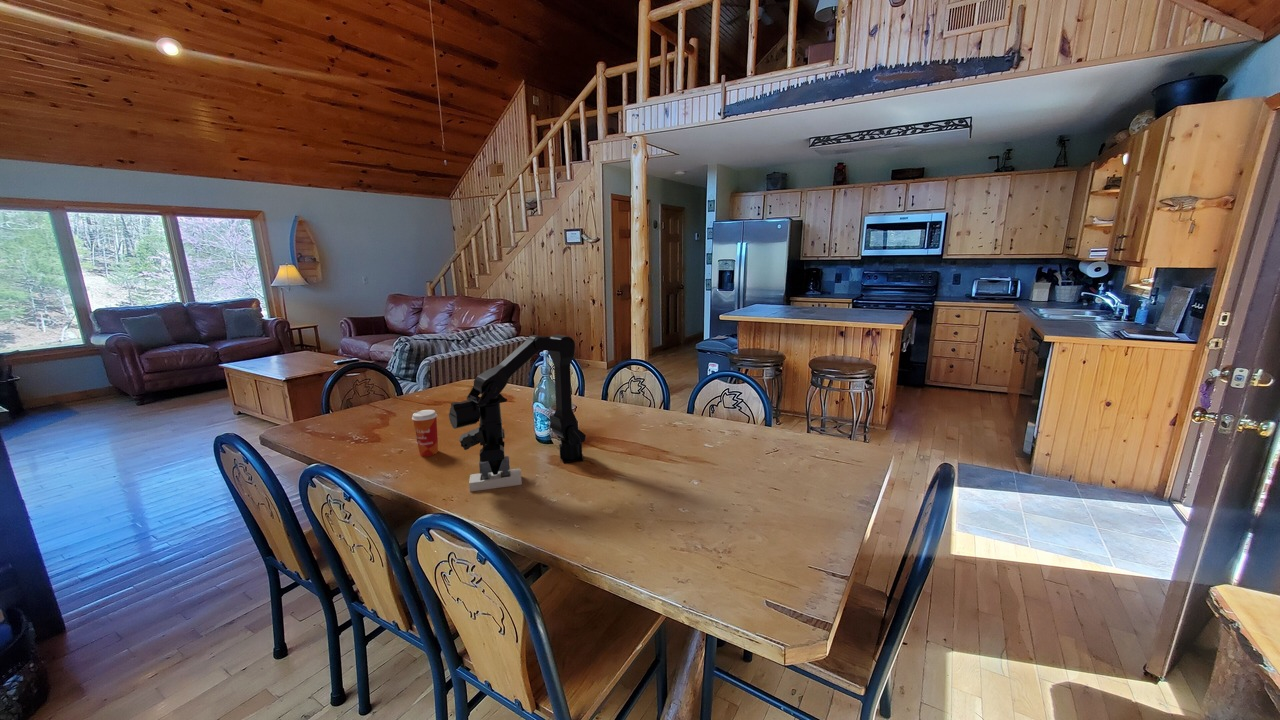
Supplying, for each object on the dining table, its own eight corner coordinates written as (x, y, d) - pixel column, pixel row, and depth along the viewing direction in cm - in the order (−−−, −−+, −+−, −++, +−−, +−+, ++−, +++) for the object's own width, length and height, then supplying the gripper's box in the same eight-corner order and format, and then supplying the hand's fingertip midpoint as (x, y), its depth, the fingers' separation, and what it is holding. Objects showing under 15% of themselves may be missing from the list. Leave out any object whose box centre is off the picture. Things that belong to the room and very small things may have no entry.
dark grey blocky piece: (510, 472, 141) (508, 455, 140) (510, 477, 138) (508, 460, 137) (481, 476, 139) (479, 459, 138) (480, 481, 136) (479, 463, 135)
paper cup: (411, 455, 160) (405, 415, 157) (429, 447, 167) (424, 408, 164) (429, 459, 157) (424, 417, 154) (446, 450, 164) (442, 410, 161)
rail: (521, 476, 143) (520, 468, 143) (521, 484, 138) (521, 476, 137) (471, 482, 140) (470, 474, 139) (469, 491, 134) (468, 483, 134)
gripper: (462, 412, 141) (468, 462, 145) (456, 434, 124) (462, 490, 127) (502, 408, 144) (506, 457, 148) (501, 429, 127) (506, 484, 130)
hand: (495, 471), depth 138 cm, fingers closed on dark grey blocky piece, 3 cm apart
